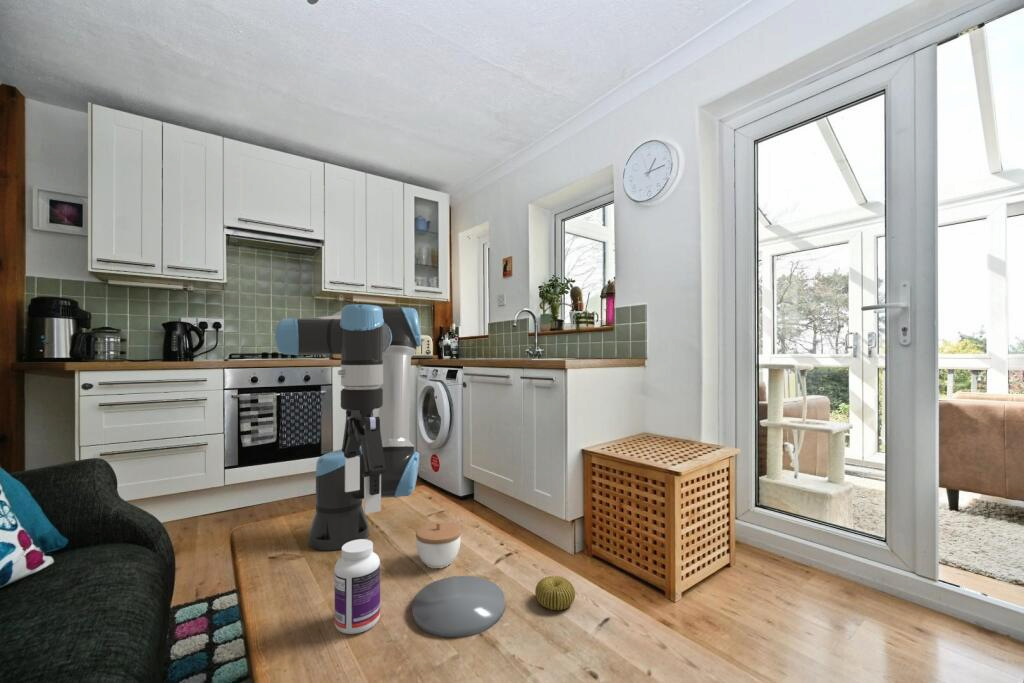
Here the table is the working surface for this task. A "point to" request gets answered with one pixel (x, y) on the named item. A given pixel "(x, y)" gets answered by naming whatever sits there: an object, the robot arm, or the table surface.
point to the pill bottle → (357, 587)
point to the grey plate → (458, 606)
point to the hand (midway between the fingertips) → (361, 500)
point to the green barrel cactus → (555, 593)
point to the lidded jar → (438, 543)
